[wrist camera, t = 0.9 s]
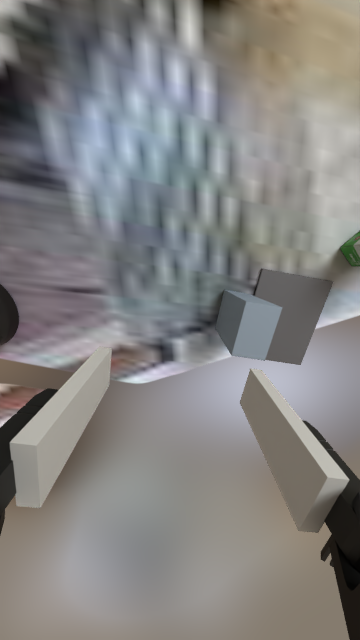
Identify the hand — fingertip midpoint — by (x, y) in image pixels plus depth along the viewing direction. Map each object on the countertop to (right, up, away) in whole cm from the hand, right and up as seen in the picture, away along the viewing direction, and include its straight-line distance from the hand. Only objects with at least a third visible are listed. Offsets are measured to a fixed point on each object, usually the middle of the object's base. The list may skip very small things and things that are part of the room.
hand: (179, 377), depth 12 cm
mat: (+21, +4, +26) cm, 33 cm away
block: (+10, +5, +25) cm, 28 cm away
